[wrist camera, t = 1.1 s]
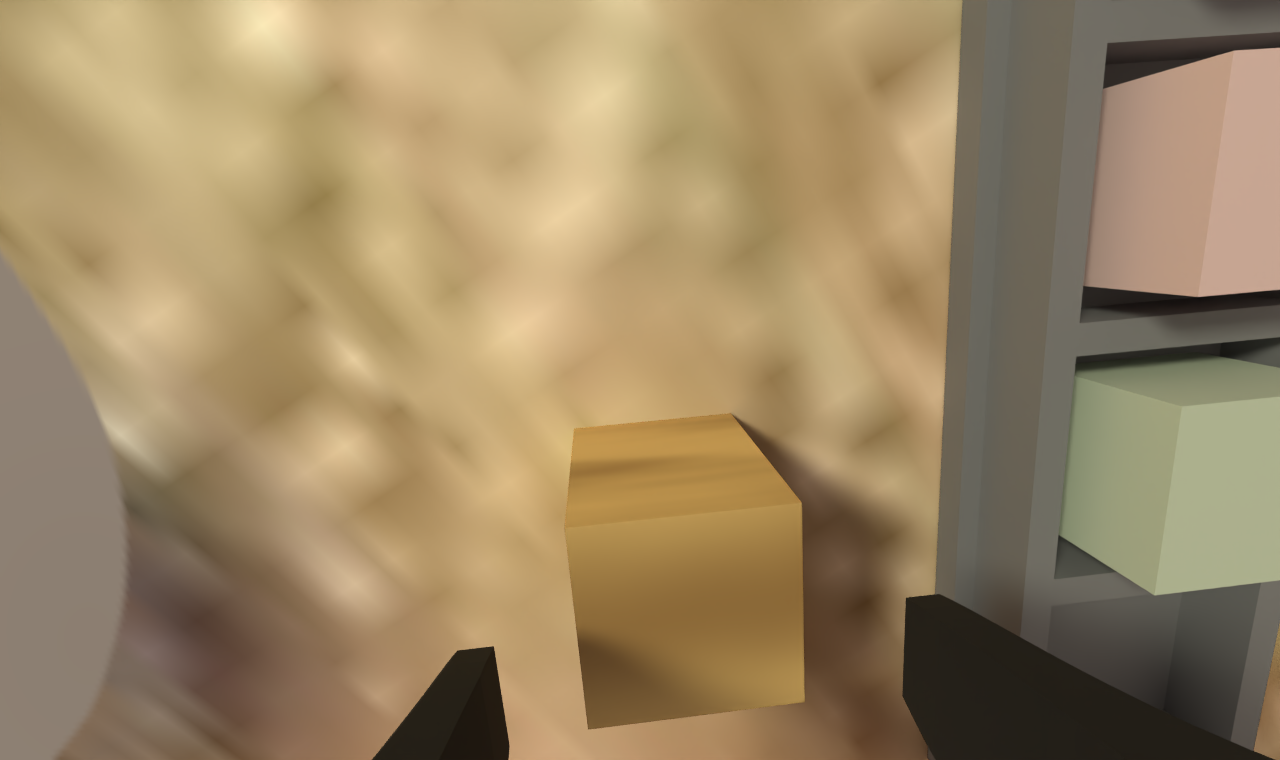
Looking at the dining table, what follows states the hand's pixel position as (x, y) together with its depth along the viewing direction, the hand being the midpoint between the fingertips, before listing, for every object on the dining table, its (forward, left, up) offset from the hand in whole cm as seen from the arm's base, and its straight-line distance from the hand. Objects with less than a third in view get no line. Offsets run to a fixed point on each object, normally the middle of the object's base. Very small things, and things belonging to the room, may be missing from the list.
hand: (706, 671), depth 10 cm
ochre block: (0, 0, -8) cm, 8 cm away
